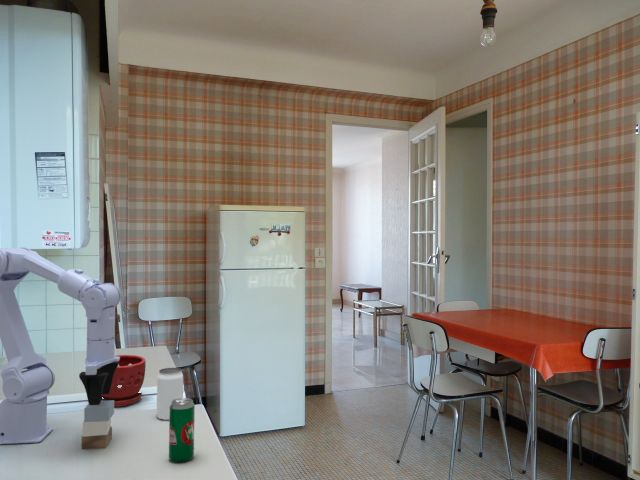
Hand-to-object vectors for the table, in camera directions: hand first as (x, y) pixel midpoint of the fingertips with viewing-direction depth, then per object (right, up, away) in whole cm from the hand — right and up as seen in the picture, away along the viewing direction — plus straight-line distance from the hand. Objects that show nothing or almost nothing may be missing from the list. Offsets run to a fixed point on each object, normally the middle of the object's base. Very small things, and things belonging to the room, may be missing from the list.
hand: (99, 399), depth 110 cm
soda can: (+20, -10, -7) cm, 24 cm away
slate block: (0, -4, 0) cm, 4 cm away
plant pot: (-7, -10, +29) cm, 31 cm away
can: (+10, -11, +18) cm, 23 cm away
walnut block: (0, -10, 0) cm, 10 cm away
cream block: (0, -7, 0) cm, 7 cm away
